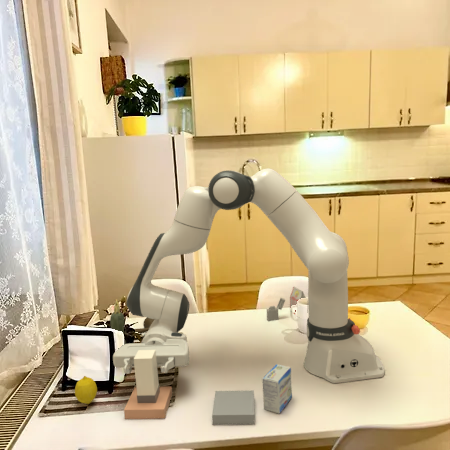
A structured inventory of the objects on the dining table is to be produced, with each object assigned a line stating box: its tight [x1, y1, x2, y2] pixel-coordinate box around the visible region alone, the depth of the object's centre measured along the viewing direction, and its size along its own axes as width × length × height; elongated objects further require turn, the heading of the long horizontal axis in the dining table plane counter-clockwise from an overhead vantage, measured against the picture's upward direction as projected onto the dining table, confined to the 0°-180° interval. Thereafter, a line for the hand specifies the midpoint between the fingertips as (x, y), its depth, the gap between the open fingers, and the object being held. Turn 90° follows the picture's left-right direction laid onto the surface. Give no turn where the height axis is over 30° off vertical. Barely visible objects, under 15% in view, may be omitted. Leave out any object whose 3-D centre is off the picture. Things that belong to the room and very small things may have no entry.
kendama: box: [133, 317, 154, 335], centre depth 147 cm, size 6×10×20 cm
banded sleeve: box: [133, 350, 160, 403], centre depth 106 cm, size 5×5×12 cm
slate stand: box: [211, 389, 256, 426], centre depth 103 cm, size 10×10×2 cm
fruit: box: [74, 375, 98, 405], centre depth 109 cm, size 6×6×8 cm
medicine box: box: [261, 363, 293, 415], centre depth 105 cm, size 8×4×9 cm, turn 148°
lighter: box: [266, 297, 286, 322], centre depth 157 cm, size 7×2×8 cm, turn 105°
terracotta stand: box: [123, 385, 173, 420], centre depth 107 cm, size 10×10×2 cm
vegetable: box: [109, 298, 127, 344], centre depth 130 cm, size 4×4×20 cm
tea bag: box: [289, 286, 307, 312], centre depth 161 cm, size 4×7×10 cm, turn 21°
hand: (145, 370), depth 104 cm, fingers open, 8 cm apart
